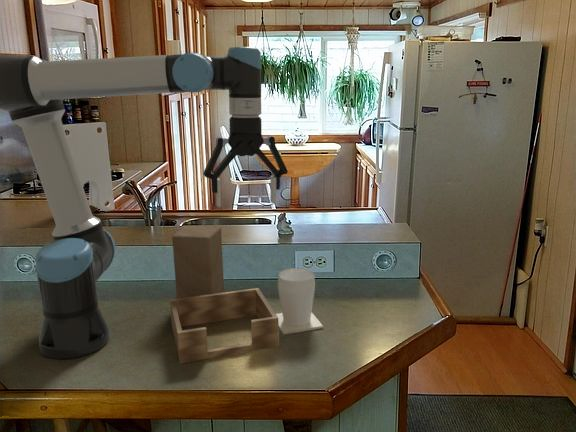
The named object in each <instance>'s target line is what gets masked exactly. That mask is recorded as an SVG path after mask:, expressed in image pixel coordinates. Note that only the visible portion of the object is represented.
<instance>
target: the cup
mask: <svg viewBox="0 0 576 432" xmlns="http://www.w3.org/2000/svg"><path fill="white" fill-rule="evenodd" d="M277 275H278V278H277V290H278V296H279V302H280V308H281V313H282V315H283V321H284V322H285V323H286V324H288V325H292V326H302V325H305V324H307V323H309V322H310V318H311V312H312V310H313V304H314V298H315V291H316V281H315V279H316V278H315V273H314V271H312V270H309V269H307V268H302V267H300V268H299V267H298V268H297V267H294V268H287V269H283V270H281V271H280V272H278V274H277Z"/></svg>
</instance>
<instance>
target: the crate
mask: <svg viewBox="0 0 576 432" xmlns="http://www.w3.org/2000/svg"><path fill="white" fill-rule="evenodd" d="M169 303H170V305H169V306H170V316H171V319H170V320H171V328H172V333H173V336H174V340H175V346H176V351H177V355H178V360H179V364H183V363H189V362H190V363H191V362H195V361H200V360H201V361H202V360H206V359H213V358H219V357H223V356H224V357H225V356H231V355H235V354H236V355H238V354H242V353H248V352H253V351H260V350H266V349H272V348H277V347H280V335H279V334H280V333H279V332H280V329H279V321H278V317H277V315H276V314H277V313H276V312H275V311H274V309H273V307H272V306H271V305H270V303H269V302H268V300H267V298H266V297H265V295H264V294H263V293H262V291H261V289H260V288H259V287H255V288H249V289H247V288H246V289H239V290H233V291H224V293H216V294H209V295H201V296H194V297H187V298H179V299H177V298H173V299H169ZM254 316H256V319H251V320H250V325H251V326H250V329H251V342H247V343H241V344H235V345H229V346H223V347H218V348H216V347H215V348H211V349H208V335H207V334H208V333H207V327H206V326H204V327H196V328H190V329H184V330H183V328H182V327H188V326H194V325H201V324H208V323H212V322H220V321H228V320H234V319H240V318H242V319H243V318H247V317H254Z"/></svg>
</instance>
